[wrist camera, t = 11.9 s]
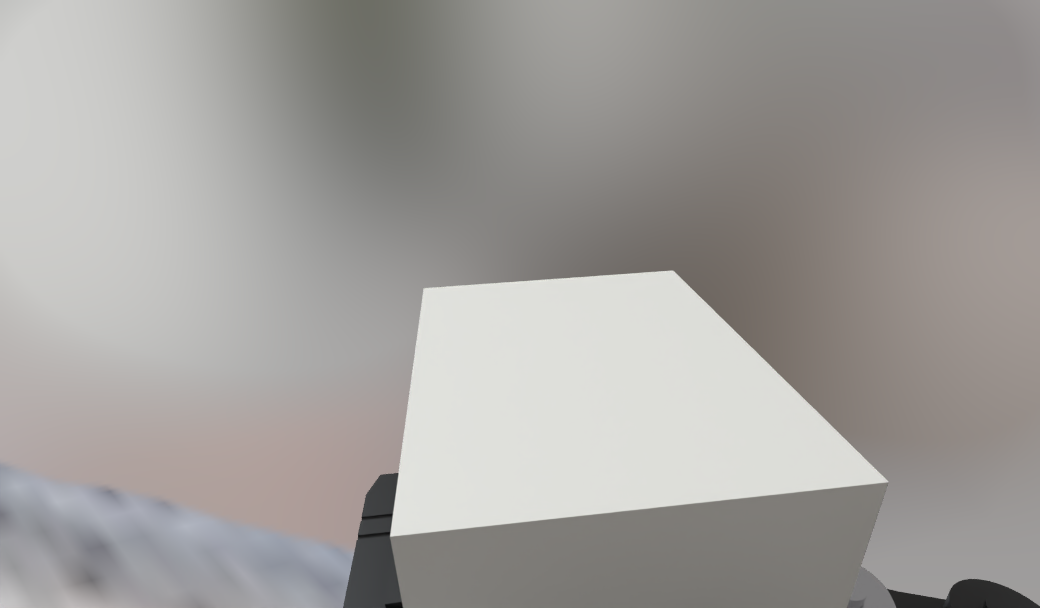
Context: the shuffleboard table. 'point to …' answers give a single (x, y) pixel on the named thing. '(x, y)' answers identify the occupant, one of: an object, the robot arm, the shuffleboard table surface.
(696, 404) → the cream block
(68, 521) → the shuffleboard table surface
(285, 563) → the shuffleboard table surface
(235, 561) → the shuffleboard table surface
